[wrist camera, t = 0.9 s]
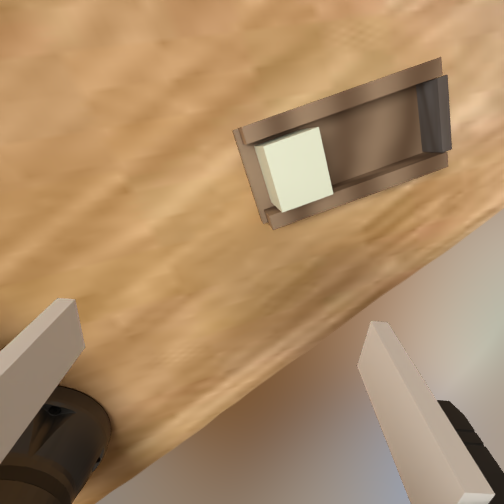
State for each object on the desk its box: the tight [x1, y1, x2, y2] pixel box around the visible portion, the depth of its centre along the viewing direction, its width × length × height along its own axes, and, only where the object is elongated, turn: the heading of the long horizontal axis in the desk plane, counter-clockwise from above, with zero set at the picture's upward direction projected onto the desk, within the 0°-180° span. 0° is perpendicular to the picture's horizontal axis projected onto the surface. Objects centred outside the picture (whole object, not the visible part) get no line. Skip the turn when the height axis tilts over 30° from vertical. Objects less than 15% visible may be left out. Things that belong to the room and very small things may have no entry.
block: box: [254, 127, 333, 213], centre depth 28 cm, size 5×6×5 cm
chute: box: [233, 57, 452, 230], centre depth 30 cm, size 20×10×4 cm, turn 108°
